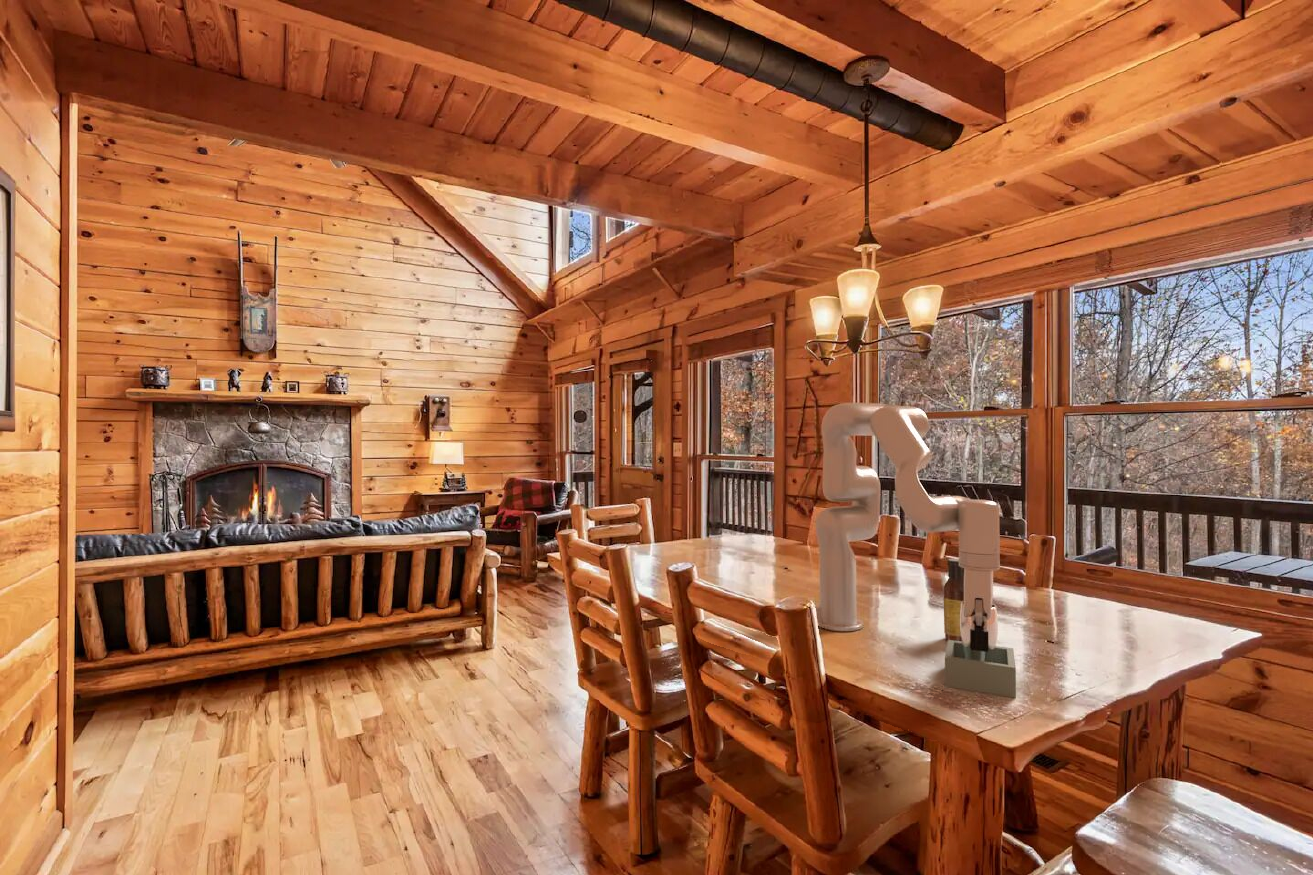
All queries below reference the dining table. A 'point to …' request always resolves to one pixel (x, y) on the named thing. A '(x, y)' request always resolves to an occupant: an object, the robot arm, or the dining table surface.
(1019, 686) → the dining table surface
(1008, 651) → the box
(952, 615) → the sauce bottle
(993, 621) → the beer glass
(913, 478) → the robot arm
